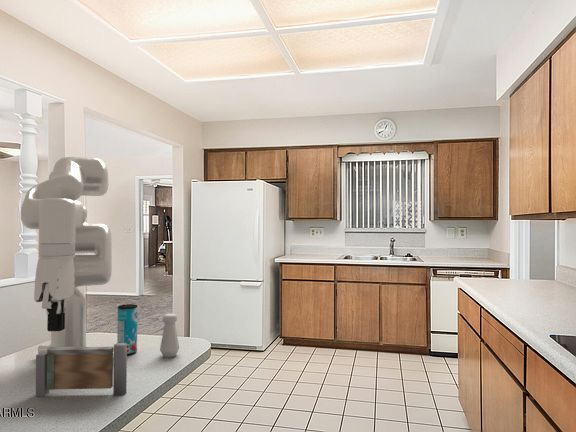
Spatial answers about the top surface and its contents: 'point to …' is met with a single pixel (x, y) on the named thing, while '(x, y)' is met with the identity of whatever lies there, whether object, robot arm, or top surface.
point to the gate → (80, 368)
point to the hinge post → (120, 369)
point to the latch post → (41, 374)
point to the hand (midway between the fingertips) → (56, 330)
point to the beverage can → (127, 327)
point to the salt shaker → (169, 337)
